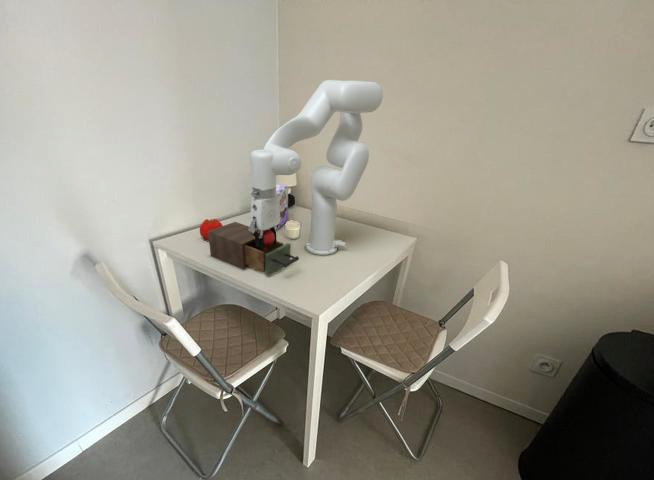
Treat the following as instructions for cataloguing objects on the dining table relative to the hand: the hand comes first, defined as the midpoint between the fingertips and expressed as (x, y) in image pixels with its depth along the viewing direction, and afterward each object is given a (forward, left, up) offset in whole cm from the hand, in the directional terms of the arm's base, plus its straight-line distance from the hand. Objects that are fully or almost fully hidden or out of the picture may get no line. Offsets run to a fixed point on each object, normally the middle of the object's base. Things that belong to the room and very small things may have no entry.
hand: (266, 244), depth 119 cm
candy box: (0, -43, -9) cm, 44 cm away
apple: (0, 0, -1) cm, 1 cm away
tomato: (+25, -23, -9) cm, 35 cm away
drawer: (-1, +1, -8) cm, 8 cm away
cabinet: (+11, -7, -9) cm, 16 cm away
